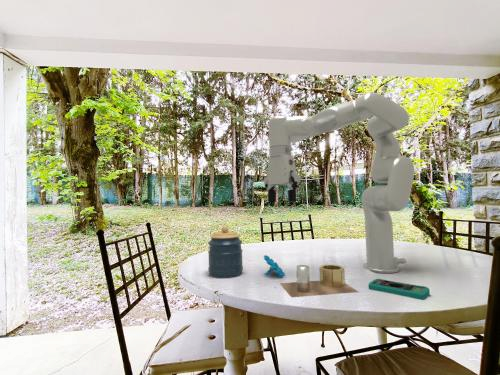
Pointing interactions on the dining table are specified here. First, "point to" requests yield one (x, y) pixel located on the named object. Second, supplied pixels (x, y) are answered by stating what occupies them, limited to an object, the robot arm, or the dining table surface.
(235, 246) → the canister
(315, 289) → the board
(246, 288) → the dining table surface
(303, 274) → the piston post
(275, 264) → the gear
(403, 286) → the digital multimeter
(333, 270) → the ring
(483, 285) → the dining table surface
